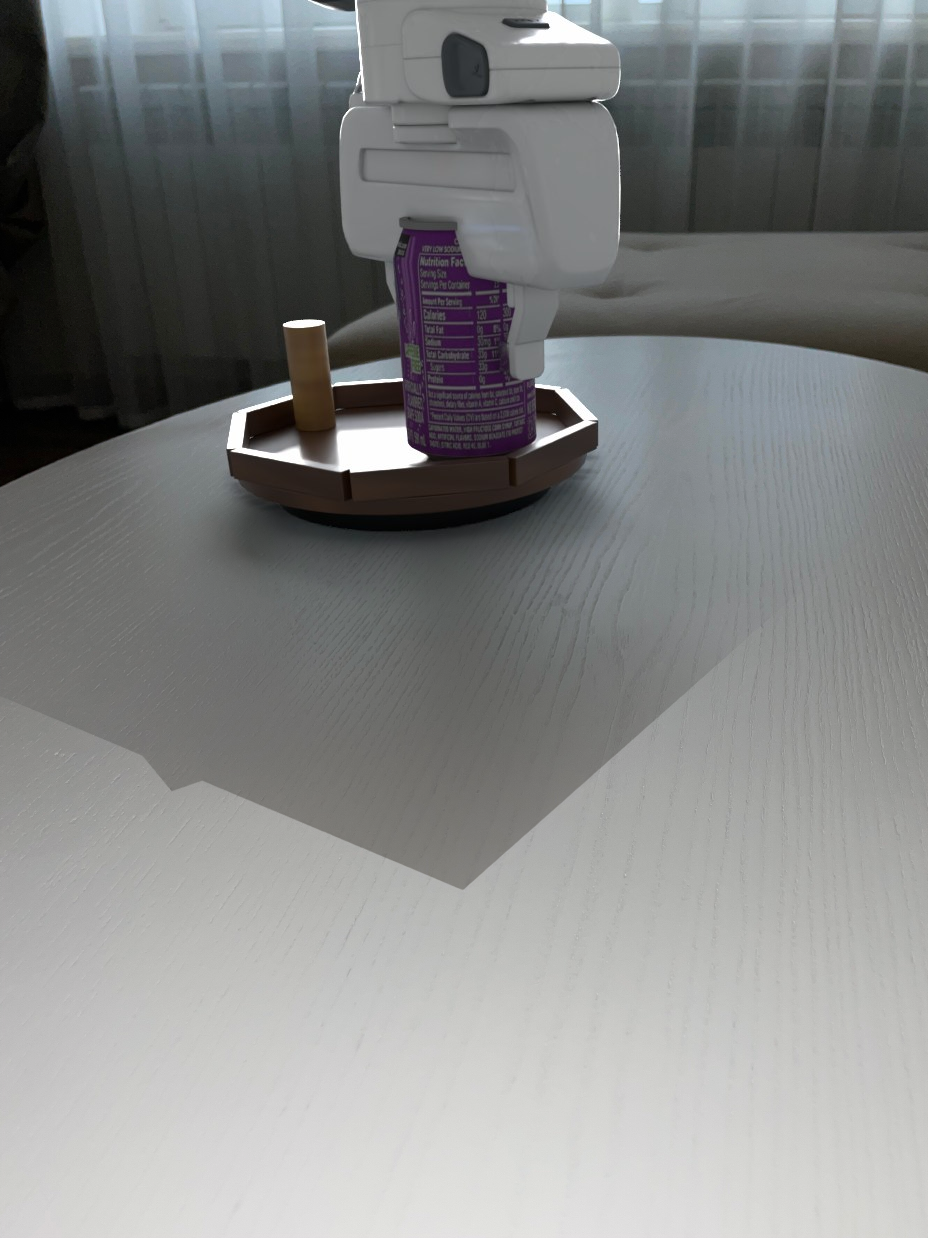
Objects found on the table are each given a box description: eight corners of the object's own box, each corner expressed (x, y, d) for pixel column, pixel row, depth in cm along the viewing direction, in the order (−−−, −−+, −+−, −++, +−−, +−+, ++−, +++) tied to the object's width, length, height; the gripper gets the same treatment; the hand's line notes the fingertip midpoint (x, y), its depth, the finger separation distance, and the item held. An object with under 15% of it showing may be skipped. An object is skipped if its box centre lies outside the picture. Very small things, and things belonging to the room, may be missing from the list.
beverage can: (479, 428, 65) (469, 207, 59) (563, 450, 61) (560, 213, 55) (382, 453, 61) (360, 219, 55) (464, 479, 56) (450, 226, 51)
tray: (649, 438, 66) (652, 317, 62) (443, 541, 51) (433, 391, 48) (392, 401, 76) (383, 295, 72) (160, 478, 61) (135, 351, 58)
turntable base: (232, 481, 66) (228, 456, 65) (457, 433, 74) (455, 411, 73) (359, 555, 54) (356, 526, 54) (609, 489, 62) (609, 463, 62)
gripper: (296, 70, 58) (327, 343, 64) (525, 50, 43) (534, 406, 50) (401, 68, 61) (420, 328, 67) (647, 50, 46) (640, 385, 53)
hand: (470, 362), depth 58 cm, fingers open, 8 cm apart
